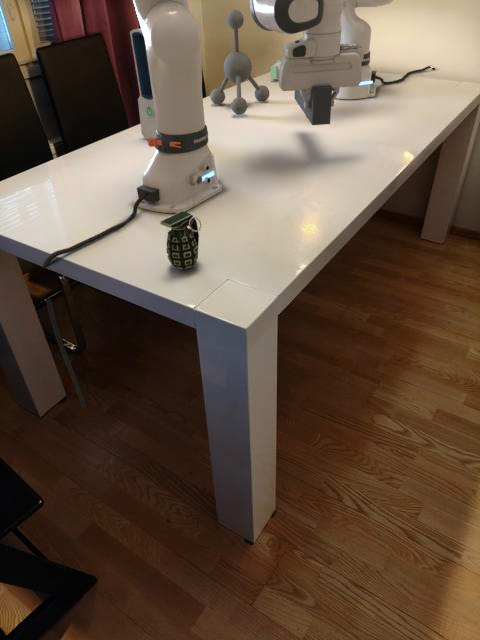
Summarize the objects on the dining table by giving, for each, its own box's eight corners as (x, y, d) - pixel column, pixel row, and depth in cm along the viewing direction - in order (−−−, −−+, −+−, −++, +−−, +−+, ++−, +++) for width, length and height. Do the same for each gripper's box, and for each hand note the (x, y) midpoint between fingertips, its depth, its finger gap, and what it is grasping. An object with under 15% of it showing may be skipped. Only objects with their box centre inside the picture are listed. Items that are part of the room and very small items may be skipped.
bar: (330, 124, 123) (332, 87, 118) (312, 125, 123) (313, 88, 117) (309, 97, 144) (310, 65, 139) (294, 98, 144) (295, 66, 139)
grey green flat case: (293, 53, 221) (333, 55, 211) (293, 68, 225) (332, 72, 215) (262, 63, 205) (303, 67, 195) (262, 80, 209) (303, 84, 199)
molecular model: (288, 106, 174) (289, 7, 156) (237, 118, 165) (232, 15, 147) (250, 94, 190) (247, 3, 172) (202, 105, 181) (193, 10, 163)
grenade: (182, 278, 88) (175, 228, 82) (162, 268, 91) (153, 219, 85) (208, 263, 92) (203, 214, 85) (187, 253, 95) (181, 205, 89)
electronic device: (141, 137, 154) (123, 28, 136) (159, 131, 158) (144, 24, 140) (166, 145, 147) (151, 30, 129) (185, 138, 151) (172, 26, 133)
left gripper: (361, 40, 118) (355, 101, 127) (277, 46, 118) (277, 106, 126) (368, 44, 113) (362, 107, 122) (281, 50, 113) (281, 113, 121)
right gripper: (364, -54, 135) (358, 5, 143) (290, -51, 134) (289, 9, 142) (370, -55, 130) (364, 7, 138) (294, -51, 129) (293, 11, 137)
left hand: (318, 107), depth 124 cm, fingers closed on bar, 4 cm apart
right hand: (326, 8), depth 140 cm, fingers open, 8 cm apart
